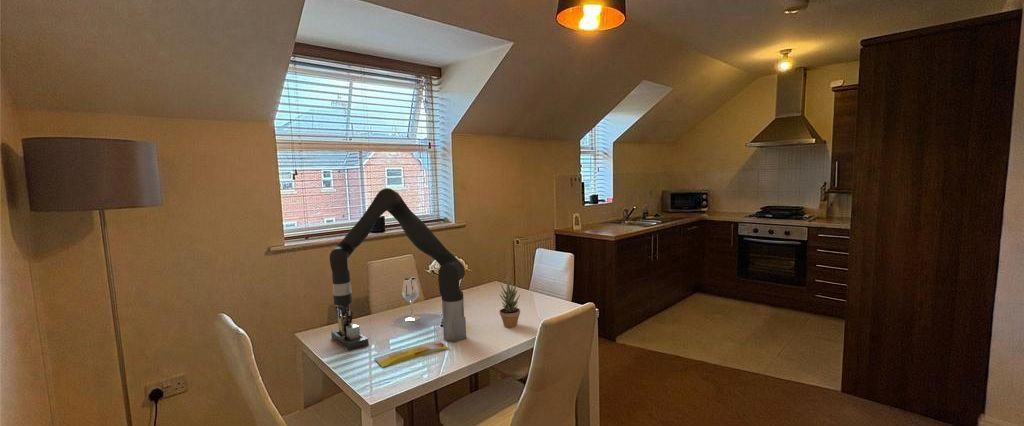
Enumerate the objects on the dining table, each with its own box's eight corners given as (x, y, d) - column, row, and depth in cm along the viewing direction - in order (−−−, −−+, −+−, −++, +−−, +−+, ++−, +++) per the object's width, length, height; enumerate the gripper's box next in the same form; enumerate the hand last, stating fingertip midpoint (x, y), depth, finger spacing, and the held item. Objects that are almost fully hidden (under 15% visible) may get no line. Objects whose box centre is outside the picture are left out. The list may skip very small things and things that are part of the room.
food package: (381, 364, 158) (373, 355, 167) (382, 370, 158) (374, 361, 167) (449, 345, 174) (438, 337, 182) (449, 350, 174) (438, 343, 182)
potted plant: (504, 321, 204) (502, 270, 202) (523, 323, 201) (521, 271, 198) (496, 328, 195) (494, 275, 192) (516, 330, 191) (514, 276, 189)
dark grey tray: (368, 345, 180) (368, 338, 180) (349, 351, 175) (349, 344, 175) (349, 333, 195) (349, 326, 195) (331, 338, 190) (331, 331, 190)
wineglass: (418, 321, 208) (415, 280, 206) (402, 321, 208) (399, 281, 206) (421, 315, 216) (419, 276, 214) (406, 316, 216) (404, 277, 214)
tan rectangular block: (351, 334, 188) (350, 316, 187) (342, 337, 185) (341, 319, 185) (348, 332, 191) (346, 314, 190) (339, 334, 188) (337, 317, 188)
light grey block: (360, 344, 182) (359, 326, 181) (351, 347, 179) (349, 328, 178) (356, 342, 185) (355, 323, 184) (347, 344, 182) (346, 326, 181)
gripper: (357, 293, 184) (360, 332, 185) (344, 287, 194) (347, 324, 196) (339, 297, 179) (342, 337, 180) (327, 291, 189) (330, 329, 191)
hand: (345, 330), depth 188 cm, fingers closed on tan rectangular block, 4 cm apart
